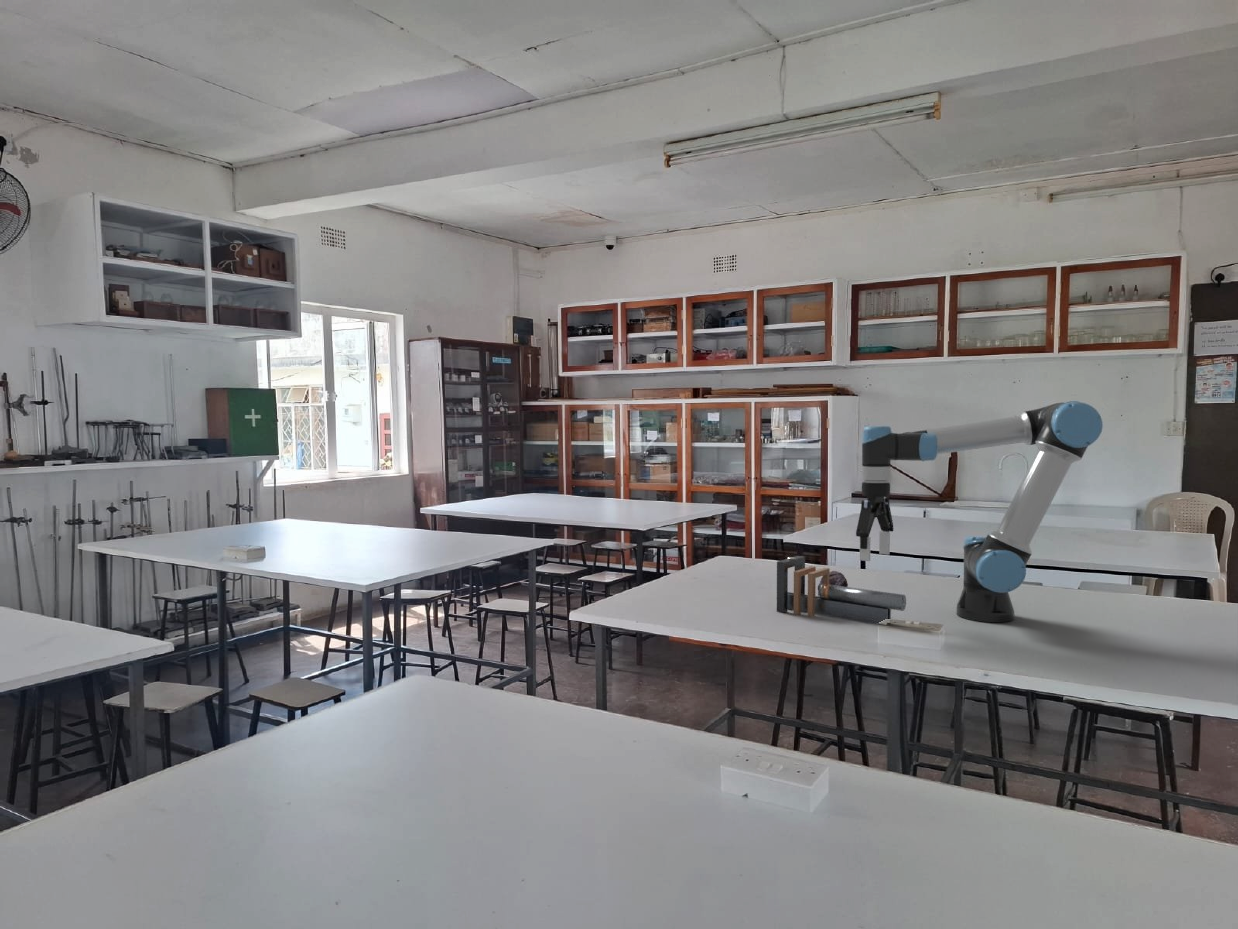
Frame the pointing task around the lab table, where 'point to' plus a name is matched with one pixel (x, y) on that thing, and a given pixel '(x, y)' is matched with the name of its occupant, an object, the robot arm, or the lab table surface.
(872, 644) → the lab table surface
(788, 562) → the dark grey u-shaped frame
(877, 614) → the rail cradle
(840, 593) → the tube
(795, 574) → the collar
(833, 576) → the rock
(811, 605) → the collar
